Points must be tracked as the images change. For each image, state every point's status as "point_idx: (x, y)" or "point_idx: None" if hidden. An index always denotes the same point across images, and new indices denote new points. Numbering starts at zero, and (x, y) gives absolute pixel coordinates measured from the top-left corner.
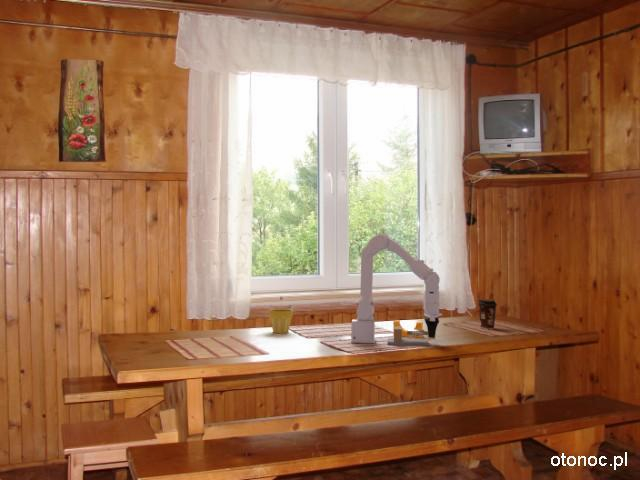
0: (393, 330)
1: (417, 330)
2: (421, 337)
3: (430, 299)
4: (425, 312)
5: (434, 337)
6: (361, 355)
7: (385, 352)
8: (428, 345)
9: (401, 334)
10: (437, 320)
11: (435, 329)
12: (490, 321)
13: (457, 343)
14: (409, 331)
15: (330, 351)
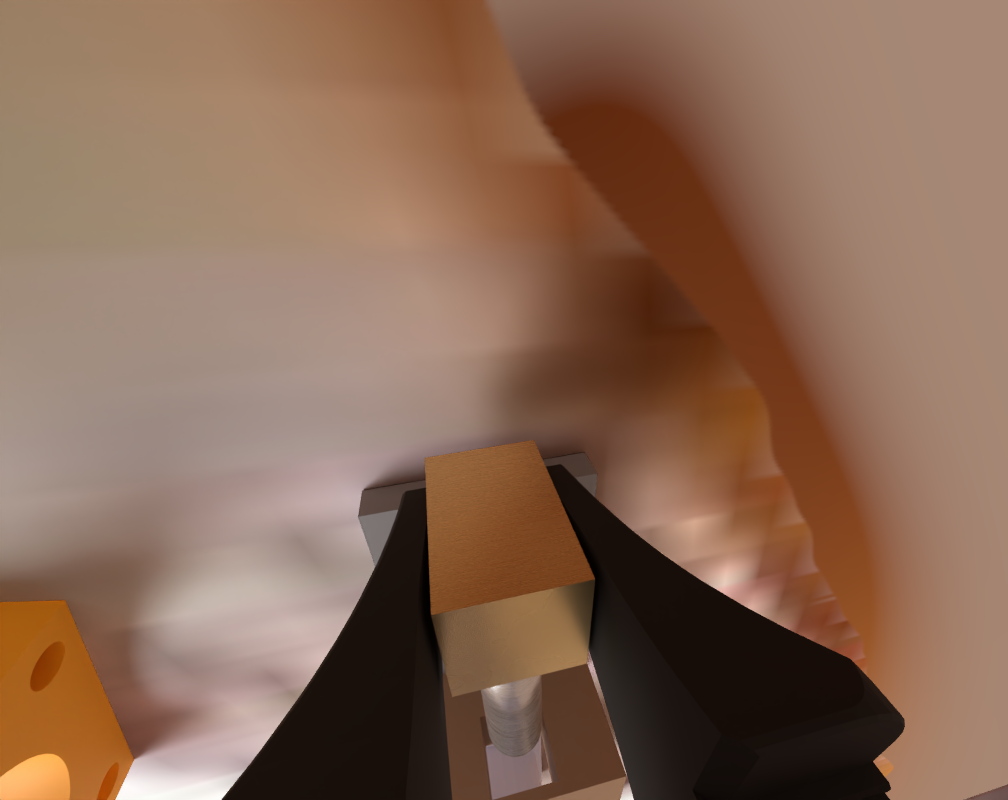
0: None
1: (530, 694)
2: (26, 603)
3: None
4: None
5: (540, 465)
6: (852, 656)
7: (809, 612)
8: (585, 456)
9: (604, 714)
10: (766, 771)
11: (649, 551)
12: None
13: (244, 42)
14: (540, 721)
15: None
